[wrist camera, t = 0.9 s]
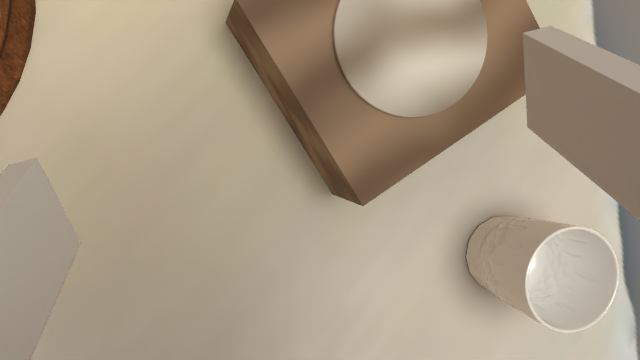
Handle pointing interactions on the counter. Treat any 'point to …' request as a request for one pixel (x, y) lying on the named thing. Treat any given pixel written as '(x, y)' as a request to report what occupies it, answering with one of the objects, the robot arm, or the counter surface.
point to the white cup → (546, 270)
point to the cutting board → (14, 43)
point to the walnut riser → (383, 77)
